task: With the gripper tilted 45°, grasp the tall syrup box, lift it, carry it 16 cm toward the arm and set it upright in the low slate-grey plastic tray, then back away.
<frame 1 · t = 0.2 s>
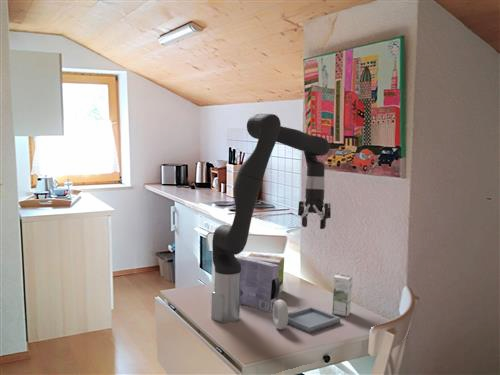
hand: (313, 227, 208), 28 cm above the table, tool pointing down, fingers open, 8 cm apart
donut: (279, 329, 175), on the table
cake pan box: (255, 306, 197), on the table
syrup box: (341, 313, 192), on the table
tray: (310, 321, 182), on the table
tea box: (262, 292, 214), on the table
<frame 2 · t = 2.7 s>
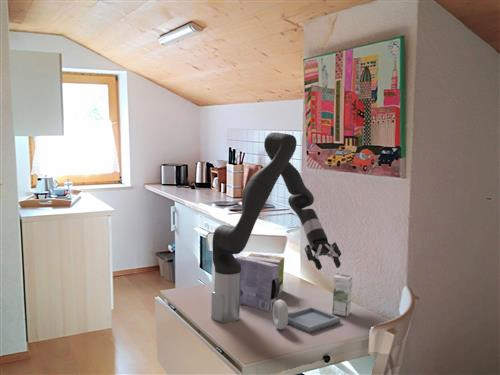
hand: (329, 267, 198), 15 cm above the table, tool tilted 45°, fingers open, 8 cm apart
nothing on the table moved.
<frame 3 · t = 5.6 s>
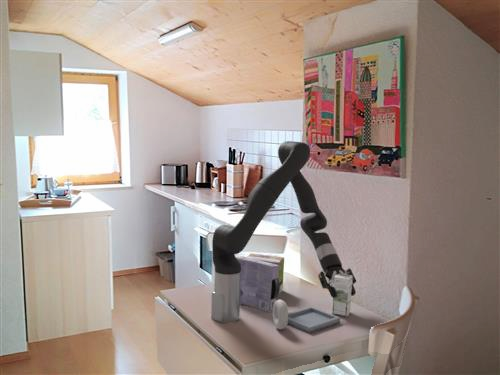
hand: (344, 296, 190), 7 cm above the table, tool tilted 45°, fingers closed on syrup box, 8 cm apart
syrup box: (341, 313, 192), on the table, touching gripper
everything else where it was.
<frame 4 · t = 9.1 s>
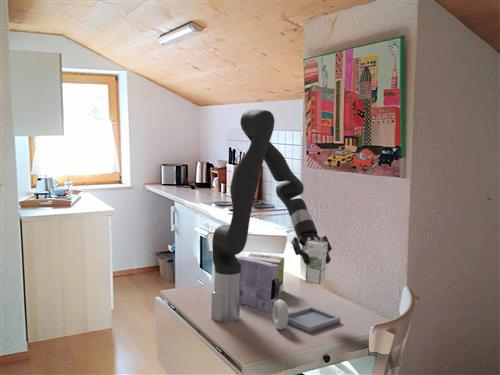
hand: (318, 263, 180), 21 cm above the table, tool tilted 45°, fingers closed on syrup box, 8 cm apart
syrup box: (315, 282, 182), point 14 cm above the table, touching gripper
everything else where it was.
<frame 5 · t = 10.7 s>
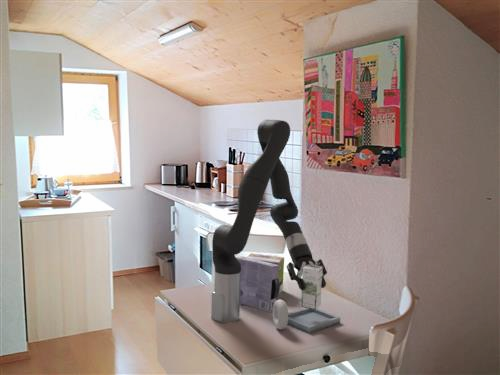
hand: (313, 288, 180), 13 cm above the table, tool tilted 45°, fingers closed on syrup box, 8 cm apart
syrup box: (310, 306, 182), point 5 cm above the table, touching gripper
everything else where it was.
when the fingers open (9 cm above the table, at t = 12.4 s): syrup box drops 1 cm, resting on tray.
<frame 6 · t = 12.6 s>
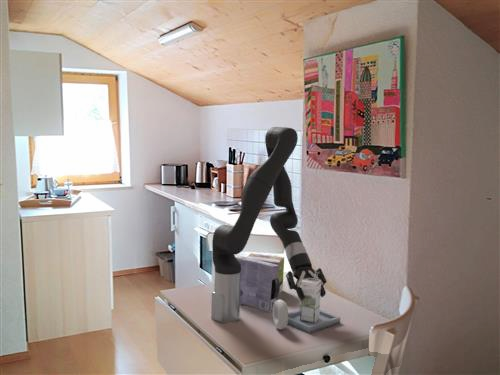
hand: (313, 297, 180), 9 cm above the table, tool tilted 45°, fingers open, 8 cm apart
syrup box: (309, 320, 182), point 1 cm above the table, touching gripper, tray
everything else where it was.
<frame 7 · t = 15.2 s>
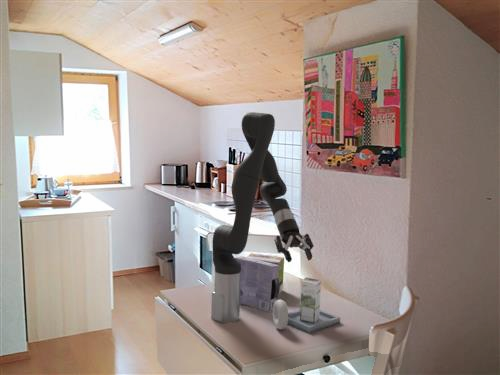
hand: (300, 260, 187), 20 cm above the table, tool tilted 45°, fingers open, 8 cm apart
syrup box: (309, 320, 182), point 1 cm above the table, touching tray
everything else where it was.
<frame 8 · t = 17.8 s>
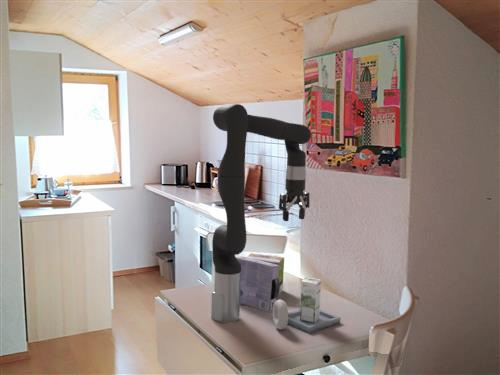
hand: (293, 219, 197), 33 cm above the table, tool pointing down, fingers open, 8 cm apart
nothing on the table moved.
at the end: syrup box inside the target area on the tray (0.2 cm from its centre), point 0.6 cm above the tray's base; syrup box tilted 0°; the gripper is holding nothing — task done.
